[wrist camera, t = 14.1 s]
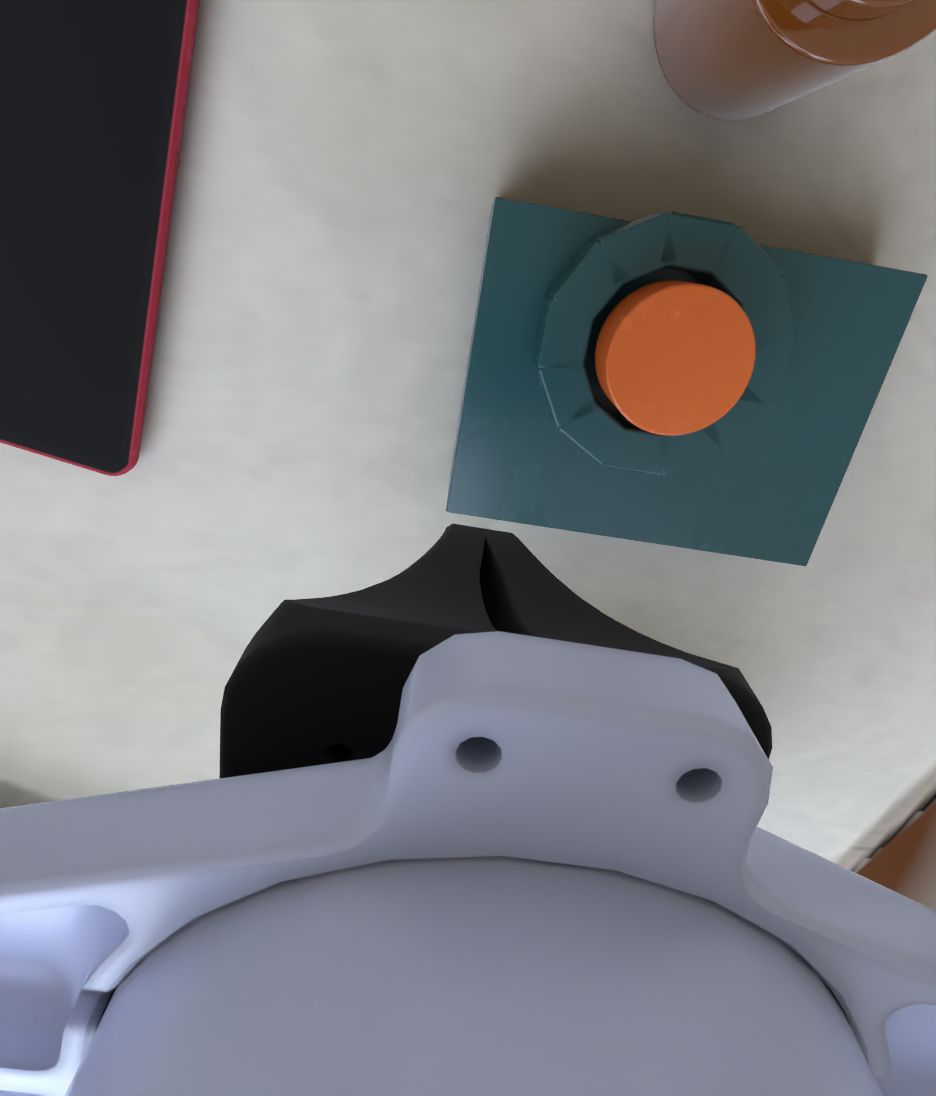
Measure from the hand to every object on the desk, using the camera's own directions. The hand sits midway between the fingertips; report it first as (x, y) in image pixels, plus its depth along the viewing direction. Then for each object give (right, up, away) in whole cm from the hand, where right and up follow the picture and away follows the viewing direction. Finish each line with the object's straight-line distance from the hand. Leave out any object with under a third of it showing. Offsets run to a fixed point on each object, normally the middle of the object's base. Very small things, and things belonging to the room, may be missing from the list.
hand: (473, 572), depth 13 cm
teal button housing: (+6, +6, +9) cm, 12 cm away
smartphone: (-13, +11, +7) cm, 18 cm away
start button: (+5, +6, +4) cm, 9 cm away
